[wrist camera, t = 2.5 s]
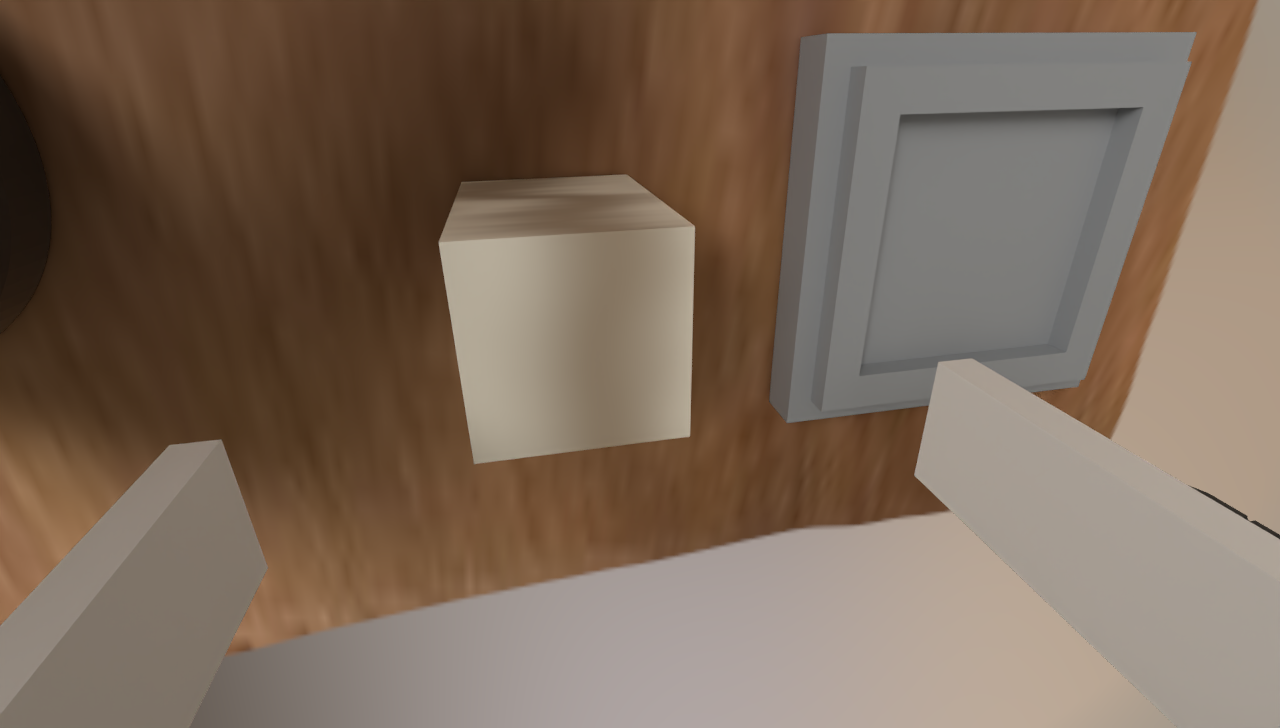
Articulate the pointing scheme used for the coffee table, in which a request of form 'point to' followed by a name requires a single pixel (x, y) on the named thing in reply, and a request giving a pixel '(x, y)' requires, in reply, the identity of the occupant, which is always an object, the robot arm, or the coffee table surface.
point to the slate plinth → (961, 207)
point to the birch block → (569, 314)
